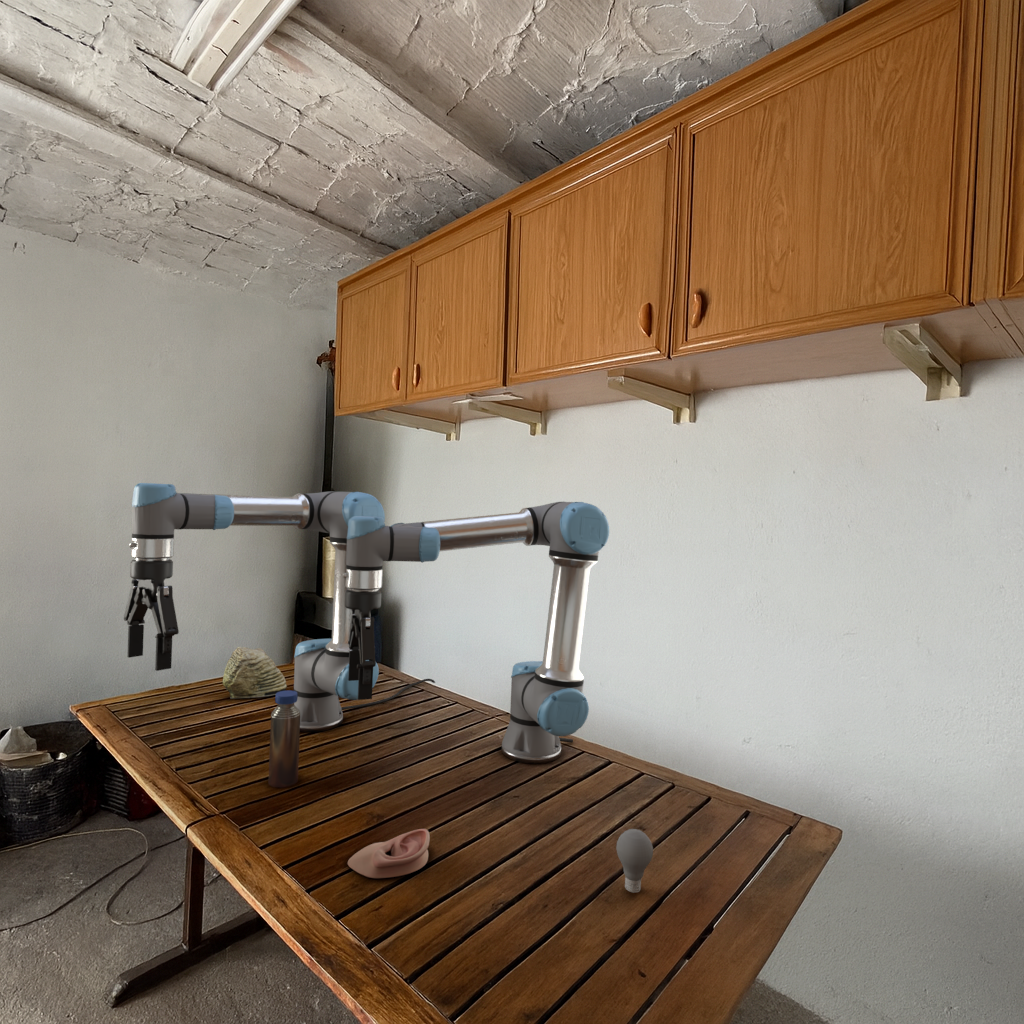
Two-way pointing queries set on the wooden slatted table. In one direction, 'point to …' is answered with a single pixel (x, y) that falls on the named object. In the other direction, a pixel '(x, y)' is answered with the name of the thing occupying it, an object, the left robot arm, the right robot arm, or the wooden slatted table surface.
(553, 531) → the right robot arm
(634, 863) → the light bulb
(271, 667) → the fossil
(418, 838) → the anatomical model
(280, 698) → the cap
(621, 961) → the wooden slatted table surface
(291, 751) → the bottle
